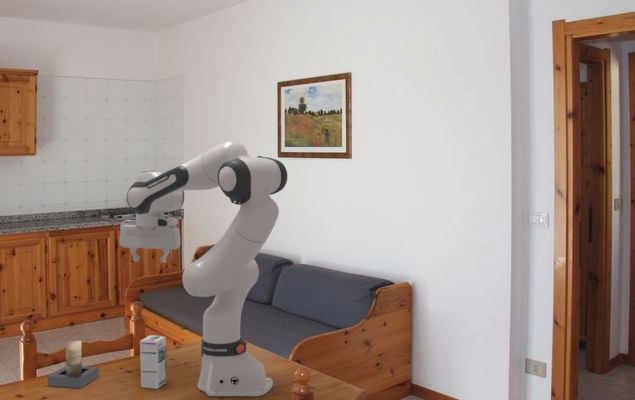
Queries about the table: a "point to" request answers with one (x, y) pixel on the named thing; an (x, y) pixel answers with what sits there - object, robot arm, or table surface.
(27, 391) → the table surface
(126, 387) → the table surface
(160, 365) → the syrup box
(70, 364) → the peg
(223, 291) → the robot arm
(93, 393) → the table surface
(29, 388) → the table surface
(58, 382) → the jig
